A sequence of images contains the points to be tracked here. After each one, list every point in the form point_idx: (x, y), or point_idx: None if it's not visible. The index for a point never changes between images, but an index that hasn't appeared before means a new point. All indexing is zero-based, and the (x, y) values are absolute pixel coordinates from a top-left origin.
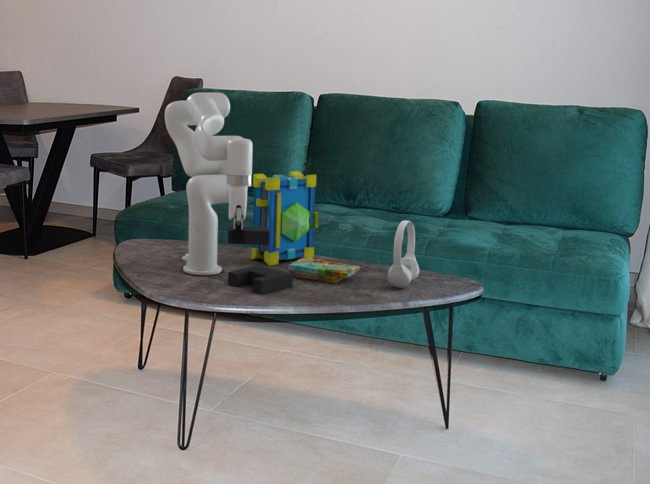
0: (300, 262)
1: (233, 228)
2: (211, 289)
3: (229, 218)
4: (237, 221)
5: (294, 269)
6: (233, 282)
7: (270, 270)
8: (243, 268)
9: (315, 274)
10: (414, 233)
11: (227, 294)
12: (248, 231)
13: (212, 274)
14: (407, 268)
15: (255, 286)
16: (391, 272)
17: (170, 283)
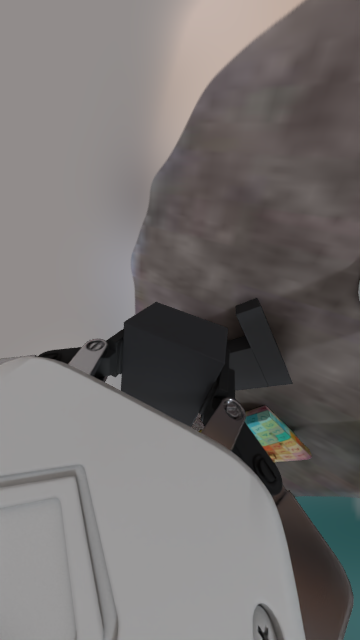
0: (271, 436)
1: (164, 361)
2: (231, 253)
3: (28, 357)
4: (1, 362)
5: (257, 414)
6: (242, 305)
7: (240, 378)
8: (276, 345)
9: None
10: None
11: (191, 275)
12: (122, 384)
13: (358, 288)
14: None
15: None
16: None
17: (334, 133)
